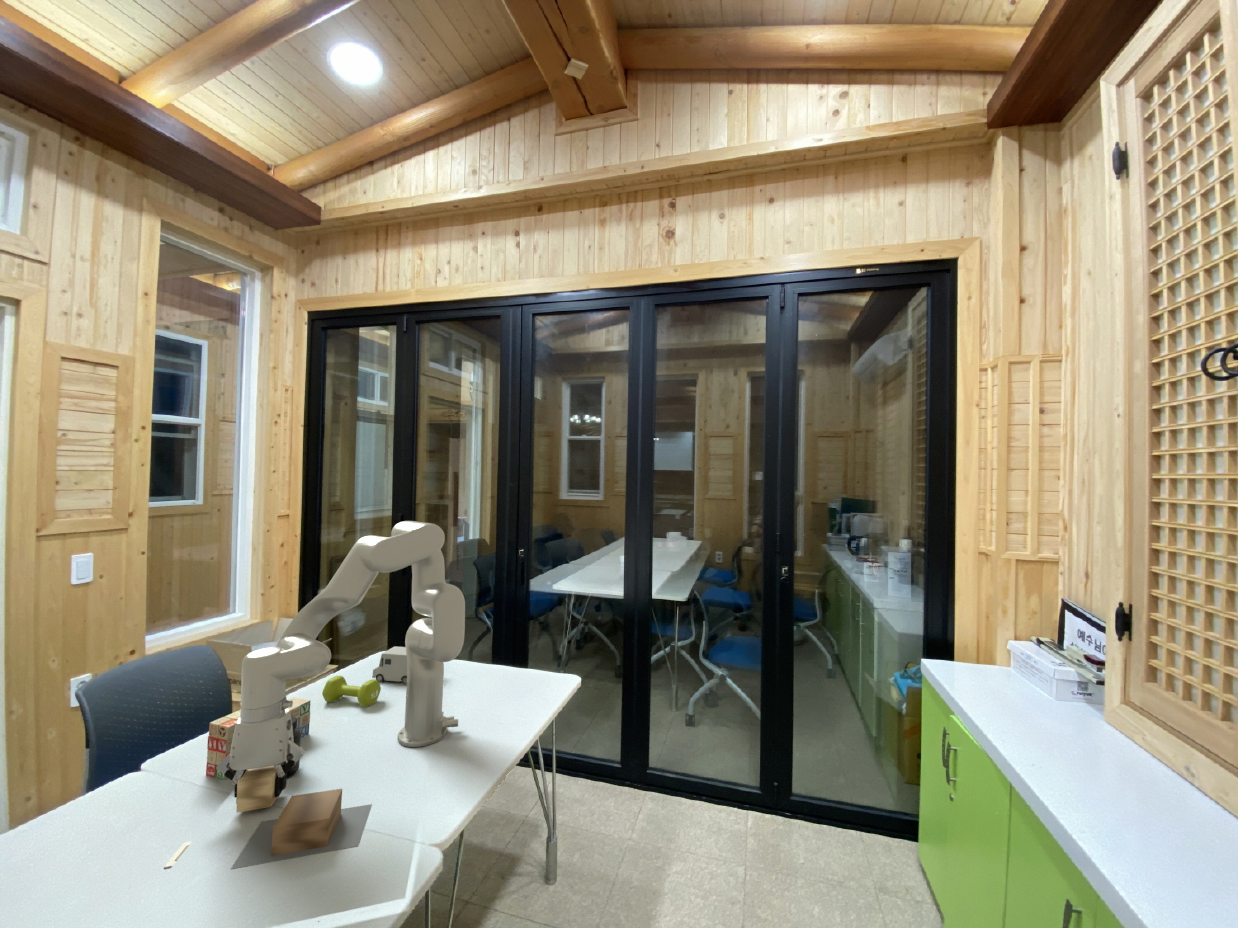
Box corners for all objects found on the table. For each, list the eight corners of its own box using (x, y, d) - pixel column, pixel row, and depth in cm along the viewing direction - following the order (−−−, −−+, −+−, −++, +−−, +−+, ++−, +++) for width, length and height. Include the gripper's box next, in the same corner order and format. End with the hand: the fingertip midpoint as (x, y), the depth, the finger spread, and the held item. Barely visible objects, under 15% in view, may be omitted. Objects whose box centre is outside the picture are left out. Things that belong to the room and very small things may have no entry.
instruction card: (234, 835, 90) (234, 833, 90) (217, 858, 84) (217, 857, 84) (184, 843, 88) (184, 841, 88) (163, 868, 82) (163, 866, 82)
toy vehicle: (385, 672, 170) (386, 645, 170) (431, 675, 168) (432, 648, 169) (370, 682, 161) (371, 653, 162) (418, 686, 159) (420, 656, 160)
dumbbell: (382, 699, 148) (384, 676, 149) (364, 711, 141) (366, 687, 141) (338, 694, 152) (340, 671, 152) (318, 705, 144) (320, 681, 144)
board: (371, 809, 98) (371, 803, 98) (357, 852, 87) (358, 846, 87) (260, 827, 92) (261, 821, 92) (230, 876, 81) (230, 868, 81)
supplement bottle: (302, 762, 114) (305, 712, 115) (294, 779, 108) (297, 726, 108) (269, 768, 111) (272, 717, 112) (259, 785, 105) (262, 731, 106)
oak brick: (283, 787, 101) (283, 759, 101) (271, 806, 95) (272, 776, 95) (250, 792, 99) (251, 764, 99) (236, 812, 93) (237, 782, 93)
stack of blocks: (292, 730, 129) (295, 685, 129) (309, 734, 127) (312, 688, 128) (204, 775, 108) (208, 721, 109) (223, 781, 106) (227, 726, 107)
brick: (340, 813, 95) (342, 788, 95) (327, 845, 87) (328, 818, 87) (290, 821, 92) (291, 795, 93) (270, 855, 84) (272, 827, 84)
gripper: (315, 696, 104) (313, 777, 103) (223, 706, 99) (220, 792, 98) (303, 712, 97) (301, 799, 96) (203, 724, 91) (200, 817, 91)
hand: (260, 795), depth 97 cm, fingers closed on oak brick, 6 cm apart
